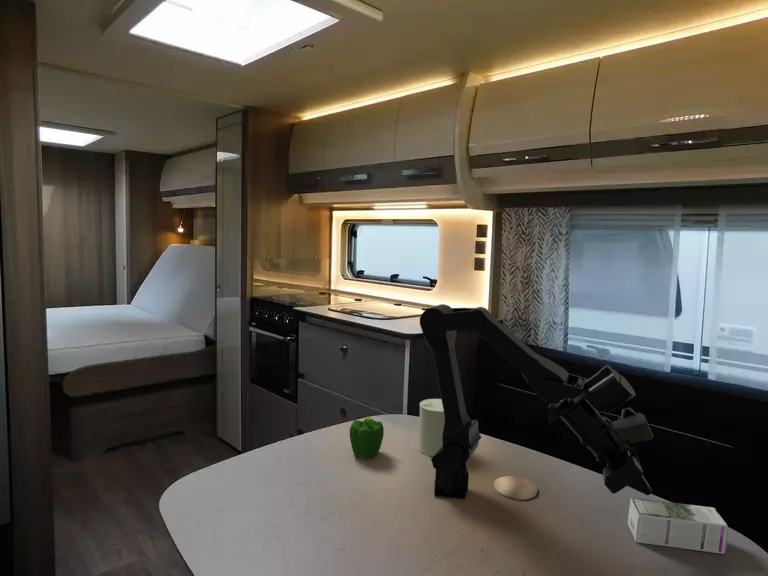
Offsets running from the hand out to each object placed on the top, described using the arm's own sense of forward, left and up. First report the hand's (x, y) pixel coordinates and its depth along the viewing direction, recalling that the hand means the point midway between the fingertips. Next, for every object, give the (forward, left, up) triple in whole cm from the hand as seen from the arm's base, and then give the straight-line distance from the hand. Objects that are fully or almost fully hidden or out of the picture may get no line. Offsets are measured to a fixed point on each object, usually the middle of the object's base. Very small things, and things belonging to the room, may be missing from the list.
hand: (649, 493), depth 91 cm
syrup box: (-2, +1, -6) cm, 6 cm away
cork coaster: (-21, +14, -9) cm, 27 cm away
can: (-38, +31, -9) cm, 50 cm away
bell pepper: (-55, +25, -9) cm, 61 cm away
